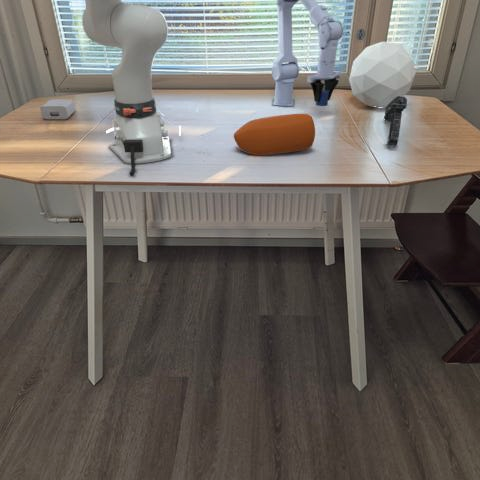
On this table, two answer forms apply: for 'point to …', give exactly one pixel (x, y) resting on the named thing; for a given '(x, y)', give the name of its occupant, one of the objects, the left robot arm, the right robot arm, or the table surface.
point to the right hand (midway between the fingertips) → (321, 100)
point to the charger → (57, 109)
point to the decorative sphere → (381, 74)
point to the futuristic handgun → (395, 118)
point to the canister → (323, 98)
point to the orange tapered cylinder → (276, 134)
